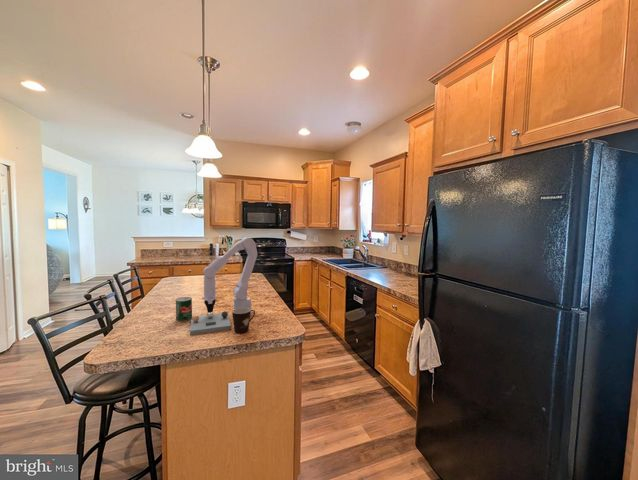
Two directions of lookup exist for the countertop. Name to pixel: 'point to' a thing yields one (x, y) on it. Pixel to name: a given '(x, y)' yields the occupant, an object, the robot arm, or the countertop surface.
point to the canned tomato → (183, 309)
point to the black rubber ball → (224, 314)
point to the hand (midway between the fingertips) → (210, 313)
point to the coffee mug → (241, 320)
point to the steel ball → (210, 315)
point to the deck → (210, 324)
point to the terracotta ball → (195, 318)
